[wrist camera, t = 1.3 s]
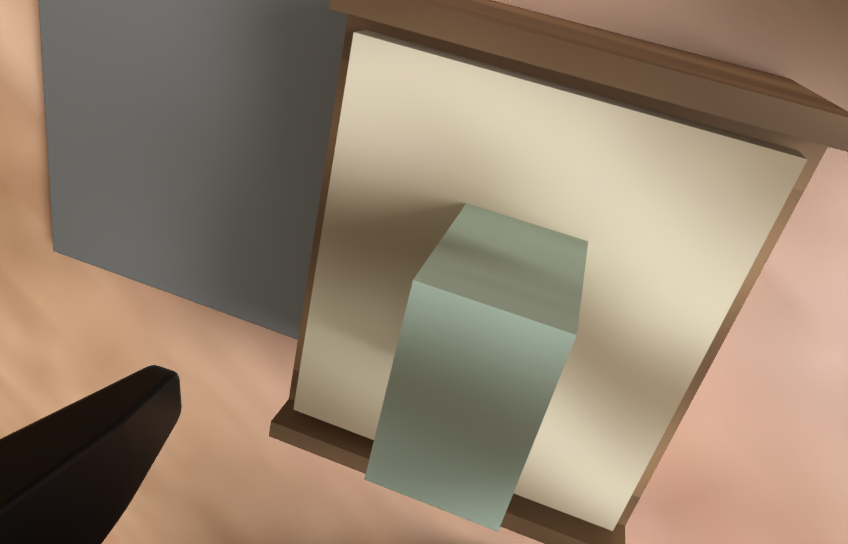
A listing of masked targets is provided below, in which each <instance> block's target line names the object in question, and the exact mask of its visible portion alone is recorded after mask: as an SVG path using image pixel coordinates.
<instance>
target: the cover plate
mask: <svg viewBox="0 0 848 544" xmlns="http://www.w3.org/2000/svg"><path fill="white" fill-rule="evenodd" d="M807 160H808V159H807V158H806V157H805V156H804V155H803V154H801V153H800V152H799V151H798V150H795V149H792V148H788V147H785V146H781V145H777V144H774V143H770V142H767V141H763V140H759V139H756V138H752V137H749V136H745V135H742V134H738V133H734V132H731V131H727V130H724V129H720V128H716V127H713V126H709V125H706V124H702V123H698V122H695V121H691V120H688V119H684V118H681V117H677V116H673V115H670V114H666V113H663V112H659V111H655V110H652V109H648V108H645V107H641V106H637V105H634V104H630V103H627V102H623V101H620V100H616V99H612V98H609V97H605V96H602V95H598V94H594V93H591V92H587V91H584V90H580V89H576V88H573V87H569V86H566V85H562V84H559V83H555V82H551V81H548V80H544V79H541V78H537V77H533V76H530V75H526V74H523V73H519V72H516V71H512V70H508V69H505V68H501V67H498V66H494V65H490V64H487V63H483V62H480V61H476V60H472V59H469V58H465V57H462V56H458V55H455V54H451V53H447V52H444V51H440V50H437V49H433V48H429V47H426V46H422V45H419V44H415V43H411V42H408V41H404V40H401V39H397V38H394V37H390V36H386V35H383V34H379V33H376V32H372V31H368V30H362V31H357V32H354V33H353V39H352V45H351V52H350V58H349V64H348V70H347V77H346V83H345V89H344V96H343V102H342V108H341V114H340V121H339V127H338V133H337V139H336V146H335V152H334V158H333V164H332V171H331V177H330V183H329V189H328V196H327V202H326V208H325V214H324V221H323V227H322V233H321V239H320V246H319V252H318V258H317V265H316V271H315V277H314V283H313V290H312V296H311V302H310V308H309V315H308V321H307V327H306V333H305V340H304V346H303V352H302V358H301V365H300V371H299V377H298V383H297V390H296V396H295V402H294V409H293V410H296V411H299V412H301V413H304V414H306V415H309V416H312V417H314V418H317V419H320V420H322V421H325V422H328V423H330V424H333V425H335V426H338V427H341V428H343V429H346V430H349V431H351V432H354V433H356V434H359V435H362V436H364V437H367V438H370V439H372V440H374V442H373V446H372V450H371V455H370V459H369V463H368V467H367V471H366V475H365V480H367V481H370V482H372V483H375V484H378V485H380V486H383V487H385V488H388V489H390V490H393V491H395V492H398V493H401V494H403V495H406V496H408V497H411V498H413V499H416V500H418V501H421V502H424V503H426V504H429V505H431V506H434V507H436V508H439V509H441V510H444V511H447V512H449V513H452V514H454V515H457V516H459V517H462V518H464V519H467V520H470V521H472V522H475V523H477V524H480V525H482V526H485V527H487V528H490V529H493V530H495V531H498V530H499V528H500V525H501V523H502V520H503V518H504V516H505V513H506V511H507V508H508V506H509V503H510V501H511V498H512V496H513V493H514V494H517V495H519V496H522V497H525V498H527V499H530V500H532V501H535V502H538V503H540V504H543V505H546V506H548V507H551V508H553V509H556V510H559V511H561V512H564V513H567V514H569V515H572V516H574V517H577V518H580V519H582V520H585V521H588V522H590V523H593V524H595V525H598V526H601V527H603V528H606V529H609V530H611V531H613V530H614V528H615V526H616V524H617V522H618V520H619V519H620V517H621V515H622V513H623V511H624V509H625V507H626V505H627V503H628V501H629V499H630V498H631V496H632V494H633V492H634V490H635V488H636V486H637V484H638V482H639V480H640V478H641V477H642V475H643V473H644V471H645V469H646V467H647V465H648V463H649V461H650V459H651V457H652V456H653V454H654V452H655V450H656V448H657V446H658V444H659V442H660V440H661V438H662V436H663V435H664V433H665V431H666V429H667V427H668V425H669V423H670V421H671V419H672V417H673V415H674V414H675V412H676V410H677V408H678V406H679V404H680V402H681V400H682V398H683V396H684V394H685V393H686V391H687V389H688V387H689V385H690V383H691V381H692V379H693V377H694V375H695V374H696V372H697V370H698V368H699V366H700V364H701V362H702V360H703V358H704V356H705V354H706V353H707V351H708V349H709V347H710V345H711V343H712V341H713V339H714V337H715V335H716V333H717V332H718V330H719V328H720V326H721V324H722V322H723V320H724V318H725V316H726V314H727V312H728V311H729V309H730V307H731V305H732V303H733V301H734V299H735V297H736V295H737V293H738V291H739V290H740V288H741V286H742V284H743V282H744V280H745V278H746V276H747V274H748V272H749V270H750V269H751V267H752V265H753V263H754V261H755V259H756V257H757V255H758V253H759V251H760V249H761V248H762V246H763V244H764V242H765V240H766V238H767V236H768V234H769V232H770V230H771V229H772V227H773V225H774V223H775V221H776V219H777V217H778V215H779V213H780V211H781V209H782V208H783V206H784V204H785V202H786V200H787V198H788V196H789V194H790V192H791V190H792V188H793V187H794V185H795V183H796V181H797V179H798V177H799V175H800V173H801V171H802V169H803V167H804V166H805V164H806V162H807Z"/></svg>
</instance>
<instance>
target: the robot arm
mask: <svg viewBox="0 0 848 544" xmlns="http://www.w3.org/2000/svg"><path fill="white" fill-rule="evenodd" d="M180 413H181V394H180V380H179V376H178V374H177V373H176V372H174V371H172V370H169V369H166V368H163V367H160V366H156V365H152V366H148V367H146V368H144V369H142V370H139V371H137V372H135V373H133V374H131V375H129V376H127V377H125V378H123V379H121V380H119V381H117V382H115V383H113V384H111V385H109V386H107V387H105V388H103V389H101V390H99V391H97V392H95V393H93V394H91V395H89V396H87V397H85V398H83V399H81V400H79V401H76V402H74V403H72V404H70V405H68V406H66V407H64V408H62V409H60V410H58V411H56V412H54V413H52V414H50V415H48V416H46V417H44V418H42V419H40V420H38V421H36V422H34V423H32V424H30V425H28V426H26V427H24V428H22V429H20V430H18V431H16V432H13V433H11V434H9V435H7V436H5V437H3V438H1V439H0V544H102V542H103V541H104V539H105V538H106V537H107V535H108V534H109V533H110V531H111V530H112V528H113V527H114V526H115V524H116V523H117V522H118V520H119V519H120V517H121V516H122V514H123V513H124V511H125V510H126V508H127V507H128V505H129V504H130V502H131V500H132V499H133V497H134V495H135V494H136V492H137V490H138V489H139V487H140V485H141V483H142V482H143V480H144V478H145V476H146V475H147V473H148V471H149V469H150V468H151V466H152V464H153V463H154V461H155V459H156V457H157V456H158V454H159V452H160V450H161V449H162V447H163V445H164V443H165V442H166V440H167V438H168V437H169V435H170V433H171V431H172V430H173V428H174V426H175V424H176V423H177V421H178V418H179V416H180Z"/></svg>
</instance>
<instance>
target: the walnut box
mask: <svg viewBox="0 0 848 544" xmlns="http://www.w3.org/2000/svg"><path fill="white" fill-rule="evenodd" d="M329 9H332V10H336V11H340V12H343V13H347V14H348V19H347V25H346V32H345V38H344V45H343V51H342V58H341V64H340V71H339V77H338V84H337V90H336V97H335V103H334V110H333V116H332V123H331V129H330V136H329V142H328V149H327V155H326V162H325V168H324V175H323V181H322V188H321V194H320V201H319V207H318V214H317V220H316V227H315V233H314V240H313V246H312V252H311V259H310V265H309V272H308V278H307V285H306V291H305V298H304V304H303V311H302V317H301V324H300V330H299V337H298V343H297V350H296V356H295V363H294V369H293V376H292V382H291V389H290V395H289V400H288V401H287V402H286V403H285V405H284V406H283V407H282V408H281V410H280V411H279V412H278V413H277V415H276V416H275V417H274V418H273V420H272V421H271V425H270V432H269V436H270V437H273V438H275V439H278V440H280V441H283V442H285V443H288V444H291V445H293V446H296V447H298V448H301V449H303V450H306V451H308V452H311V453H314V454H316V455H319V456H321V457H324V458H326V459H329V460H332V461H334V462H337V463H339V464H342V465H344V466H347V467H350V468H352V469H355V470H357V471H360V472H362V473H365V474H366V471H367V467H368V463H369V459H370V455H371V450H372V446H373V442H374V440H372V439H370V438H367V437H364V436H362V435H359V434H356V433H354V432H351V431H349V430H346V429H343V428H341V427H338V426H335V425H333V424H330V423H328V422H325V421H322V420H320V419H317V418H314V417H312V416H309V415H306V414H304V413H301V412H299V411H296V410H293V409H294V402H295V396H296V390H297V383H298V377H299V371H300V365H301V358H302V352H303V346H304V340H305V333H306V327H307V321H308V315H309V308H310V302H311V296H312V290H313V283H314V277H315V271H316V265H317V258H318V252H319V246H320V239H321V233H322V227H323V221H324V214H325V208H326V202H327V196H328V189H329V183H330V177H331V171H332V164H333V158H334V152H335V146H336V139H337V133H338V127H339V121H340V114H341V108H342V102H343V96H344V89H345V83H346V77H347V70H348V64H349V58H350V52H351V45H352V39H353V33H354V32H357V31H362V30H368V31H372V32H376V33H379V34H383V35H386V36H390V37H394V38H397V39H401V40H404V41H408V42H411V43H415V44H419V45H422V46H426V47H429V48H433V49H437V50H440V51H444V52H447V53H451V54H455V55H458V56H462V57H465V58H469V59H472V60H476V61H480V62H483V63H487V64H490V65H494V66H498V67H501V68H505V69H508V70H512V71H516V72H519V73H523V74H526V75H530V76H533V77H537V78H541V79H544V80H548V81H551V82H555V83H559V84H562V85H566V86H569V87H573V88H576V89H580V90H584V91H587V92H591V93H594V94H598V95H602V96H605V97H609V98H612V99H616V100H620V101H623V102H627V103H630V104H634V105H637V106H641V107H645V108H648V109H652V110H655V111H659V112H663V113H666V114H670V115H673V116H677V117H681V118H684V119H688V120H691V121H695V122H698V123H702V124H706V125H709V126H713V127H716V128H720V129H724V130H727V131H731V132H734V133H738V134H742V135H745V136H749V137H752V138H756V139H759V140H763V141H767V142H770V143H774V144H777V145H781V146H785V147H788V148H792V149H795V150H798V151H799V152H800V153H801V154H803V155H804V156H805V157H806V158H807V159H808V160H807V162H806V164H805V166H804V167H803V169H802V171H801V173H800V175H799V177H798V179H797V181H796V183H795V185H794V187H793V188H792V190H791V192H790V194H789V196H788V198H787V200H786V202H785V204H784V206H783V208H782V209H781V211H780V213H779V215H778V217H777V219H776V221H775V223H774V225H773V227H772V229H771V230H770V232H769V234H768V236H767V238H766V240H765V242H764V244H763V246H762V248H761V249H760V251H759V253H758V255H757V257H756V259H755V261H754V263H753V265H752V267H751V269H750V270H749V272H748V274H747V276H746V278H745V280H744V282H743V284H742V286H741V288H740V290H739V291H738V293H737V295H736V297H735V299H734V301H733V303H732V305H731V307H730V309H729V311H728V312H727V314H726V316H725V318H724V320H723V322H722V324H721V326H720V328H719V330H718V332H717V333H716V335H715V337H714V339H713V341H712V343H711V345H710V347H709V349H708V351H707V353H706V354H705V356H704V358H703V360H702V362H701V364H700V366H699V368H698V370H697V372H696V374H695V375H694V377H693V379H692V381H691V383H690V385H689V387H688V389H687V391H686V393H685V394H684V396H683V398H682V400H681V402H680V404H679V406H678V408H677V410H676V412H675V414H674V415H673V417H672V419H671V421H670V423H669V425H668V427H667V429H666V431H665V433H664V435H663V436H662V438H661V440H660V442H659V444H658V446H657V448H656V450H655V452H654V454H653V456H652V457H651V459H650V461H649V463H648V465H647V467H646V469H645V471H644V473H643V475H642V477H641V478H640V480H639V482H638V484H637V486H636V488H635V490H634V492H633V494H632V496H631V498H630V499H629V501H628V503H627V505H626V507H625V509H624V511H623V513H622V515H621V517H620V519H619V520H618V522H617V524H616V526H615V528H614V530H613V531H611V530H609V529H606V528H603V527H601V526H598V525H595V524H593V523H590V522H588V521H585V520H582V519H580V518H577V517H574V516H572V515H569V514H567V513H564V512H561V511H559V510H556V509H553V508H551V507H548V506H546V505H543V504H540V503H538V502H535V501H532V500H530V499H527V498H525V497H522V496H519V495H517V494H514V493H513V496H512V498H511V501H510V503H509V506H508V508H507V511H506V513H505V516H504V518H503V520H502V523H501V525H500V526H501V527H503V528H506V529H509V530H511V531H514V532H516V533H519V534H521V535H524V536H527V537H529V538H532V539H534V540H537V541H539V542H542V543H545V544H625V525H626V523H627V521H628V519H629V518H630V516H631V514H632V512H633V510H634V508H635V506H636V504H637V503H638V501H639V499H640V497H641V495H642V493H643V491H644V489H645V488H646V486H647V484H648V482H649V480H650V478H651V476H652V474H653V473H654V471H655V469H656V467H657V465H658V463H659V461H660V459H661V458H662V456H663V454H664V452H665V450H666V448H667V446H668V445H669V443H670V441H671V439H672V437H673V435H674V433H675V431H676V430H677V428H678V426H679V424H680V422H681V420H682V418H683V416H684V415H685V413H686V411H687V409H688V407H689V405H690V403H691V401H692V400H693V398H694V396H695V394H696V392H697V390H698V388H699V386H700V385H701V383H702V381H703V379H704V377H705V375H706V373H707V371H708V370H709V368H710V366H711V364H712V362H713V360H714V358H715V357H716V355H717V353H718V351H719V349H720V347H721V345H722V343H723V342H724V340H725V338H726V336H727V334H728V332H729V330H730V328H731V327H732V325H733V323H734V321H735V319H736V317H737V315H738V313H739V312H740V310H741V308H742V306H743V304H744V302H745V300H746V298H747V297H748V295H749V293H750V291H751V289H752V287H753V285H754V284H755V282H756V280H757V278H758V276H759V274H760V272H761V270H762V269H763V267H764V265H765V263H766V261H767V259H768V257H769V255H770V254H771V252H772V250H773V248H774V246H775V244H776V242H777V240H778V239H779V237H780V235H781V233H782V231H783V229H784V227H785V225H786V224H787V222H788V220H789V218H790V216H791V214H792V212H793V211H794V209H795V207H796V205H797V203H798V201H799V199H800V197H801V196H802V194H803V192H804V190H805V188H806V186H807V184H808V182H809V181H810V179H811V177H812V175H813V173H814V171H815V169H816V167H817V166H818V164H819V162H820V160H821V158H822V156H823V154H824V152H825V151H826V149H827V147H828V146H829V147H832V148H836V149H840V150H843V151H847V152H848V112H847V111H846V110H844V109H842V108H840V107H839V106H837V105H835V104H833V103H832V102H830V101H828V100H826V99H824V98H823V97H821V96H819V95H817V94H816V93H814V92H812V91H810V90H809V89H807V88H805V87H803V86H801V85H800V84H798V83H796V82H794V81H793V80H791V79H788V78H785V77H781V76H777V75H773V74H769V73H766V72H762V71H758V70H754V69H750V68H747V67H743V66H739V65H735V64H731V63H728V62H724V61H720V60H716V59H712V58H709V57H705V56H701V55H697V54H693V53H690V52H686V51H682V50H678V49H674V48H671V47H667V46H663V45H659V44H655V43H652V42H648V41H644V40H640V39H636V38H633V37H629V36H625V35H621V34H617V33H614V32H610V31H606V30H602V29H598V28H595V27H591V26H587V25H583V24H579V23H576V22H572V21H568V20H564V19H560V18H557V17H553V16H549V15H545V14H541V13H538V12H534V11H530V10H526V9H522V8H519V7H515V6H511V5H507V4H503V3H500V2H496V1H492V0H330V4H329Z"/></svg>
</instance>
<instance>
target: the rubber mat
mask: <svg viewBox="0 0 848 544" xmlns="http://www.w3.org/2000/svg"><path fill="white" fill-rule="evenodd" d="M329 4H330V0H39V14H40V31H41V48H42V65H43V82H44V99H45V116H46V132H47V149H48V166H49V183H50V200H51V217H52V234H53V250H54V251H55V252H58V253H60V254H63V255H66V256H69V257H71V258H74V259H77V260H80V261H82V262H85V263H88V264H91V265H93V266H96V267H99V268H102V269H104V270H107V271H110V272H113V273H116V274H118V275H121V276H124V277H127V278H129V279H132V280H135V281H138V282H140V283H143V284H146V285H149V286H151V287H154V288H157V289H160V290H162V291H165V292H168V293H171V294H173V295H176V296H179V297H182V298H185V299H187V300H190V301H193V302H196V303H198V304H201V305H204V306H207V307H209V308H212V309H215V310H218V311H220V312H223V313H226V314H229V315H231V316H234V317H237V318H240V319H242V320H245V321H248V322H251V323H253V324H256V325H259V326H262V327H265V328H267V329H270V330H273V331H276V332H278V333H281V334H284V335H287V336H289V337H292V338H295V339H298V337H299V330H300V324H301V317H302V311H303V304H304V298H305V291H306V285H307V278H308V272H309V265H310V259H311V252H312V246H313V240H314V233H315V227H316V220H317V214H318V207H319V201H320V194H321V188H322V181H323V175H324V168H325V162H326V155H327V149H328V142H329V136H330V129H331V123H332V116H333V110H334V103H335V97H336V90H337V84H338V77H339V71H340V64H341V58H342V51H343V45H344V38H345V32H346V25H347V19H348V14H347V13H343V12H340V11H336V10H332V9H329Z"/></svg>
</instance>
